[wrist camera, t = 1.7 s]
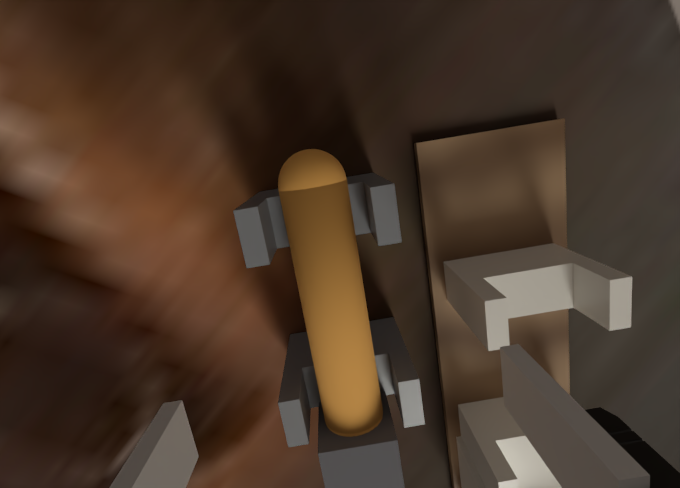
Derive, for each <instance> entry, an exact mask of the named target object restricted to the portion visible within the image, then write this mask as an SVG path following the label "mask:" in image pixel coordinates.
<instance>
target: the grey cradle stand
mask: <svg viewBox="0 0 680 488" xmlns="http://www.w3.org/2000/svg"><path fill="white" fill-rule="evenodd" d="M346 178H347V183H348V190H349V196H350V203H351V209H352V215H353V222H354V228H355V234H356V235H360V234H366V233H371V234H372V235H373V237H374V239H375V241H376V243H377V244H378V246H382V245H388V244H394V243H400V242H402V240H401V233H400V225H399V217H398V209H397V201H396V193H395V185H394V183H392V182H390V181H388V180H386V179H385V178H383V177H381V176H379V175H377V174H375V173H368V174H362V175H356V176H350V177H346ZM233 212H234V216H235V220H236V225H237V229H238V233H239V238H240V242H241V246H242V250H243V255H244V259H245V263H246V268H252V267H258V266H264V265H270V263H271V261H272V259H273V256H274V254H275V252H276V250H277V248H283V247H289V246H290V245H289V240H288V235H287V230H286V226H285V221H284V216H283V211H282V206H281V201H280V196H279V191H278V189H273V190H267V191H261V192H258V193H257V194H256V195H254V196H253V197H252V198H250V199H249V200H247V201H246V202H245V203H243V204H242V205H240V206H239V207H238V208H236V209H235V210H234V211H233ZM369 324H370V330H371V336H372V343H373V349H374V356H375V362H376V368H377V375H378V381H379V387H380V392H384V391H385V393H386V395H390V394H395V397H396V400H397V404H398V407H399V411H400V414H401V418H402V421H403V424H404V428H405V427H411V426H417V425H423V424H425V421H424V413H423V405H422V398H421V390H420V382H419V377H418V375H417V373H416V370H415V368H414V365H413V363H412V361H411V358H410V356H409V353H408V351H407V348H406V346H405V344H404V341H403V339H402V336H401V334H400V331H399V329H398V327H397V324H396V322H395V319H394V317H390V318H384V319H378V320H372V321H369ZM319 402H321V399H320V394H319V389H318V384H317V379H316V374H315V369H314V364H313V359H312V354H311V350H310V345H309V340H308V335H307V332H301V333H295V334H290V338H289V343H288V349H287V355H286V360H285V366H284V372H283V378H282V383H281V389H280V395H279V401H278V405H279V409H280V413H281V417H282V422H283V426H284V430H285V435H286V439H287V443H288V447H293V446H299V445H305V444H309V432H310V410H311V408H313V407H319Z"/></svg>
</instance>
